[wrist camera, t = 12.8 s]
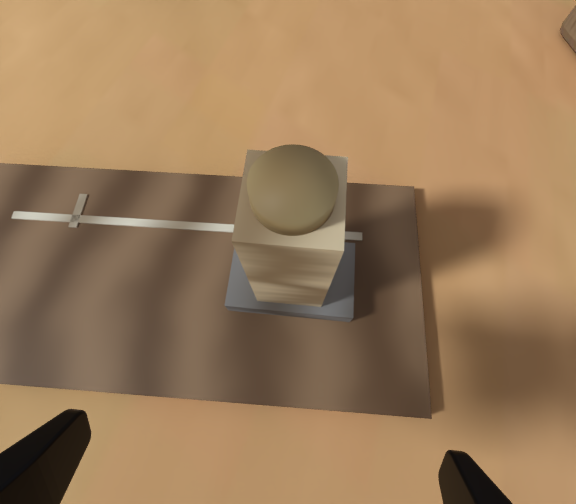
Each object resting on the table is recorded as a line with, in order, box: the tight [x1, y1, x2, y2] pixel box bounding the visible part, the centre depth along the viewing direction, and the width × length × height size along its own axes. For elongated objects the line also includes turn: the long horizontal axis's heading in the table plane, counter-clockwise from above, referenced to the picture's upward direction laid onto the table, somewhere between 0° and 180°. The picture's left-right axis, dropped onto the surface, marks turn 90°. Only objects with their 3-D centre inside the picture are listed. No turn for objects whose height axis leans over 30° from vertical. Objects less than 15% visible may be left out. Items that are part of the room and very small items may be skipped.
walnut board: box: [0, 163, 432, 419], centre depth 23 cm, size 34×16×1 cm, turn 86°
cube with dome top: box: [225, 145, 355, 322], centre depth 17 cm, size 8×5×12 cm, turn 84°
